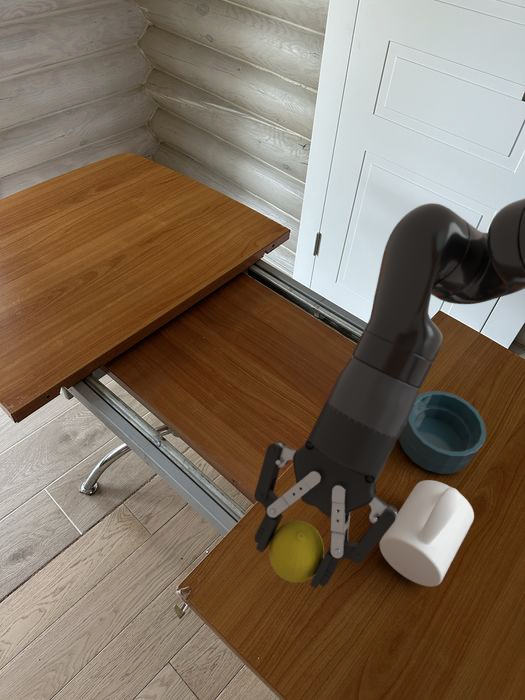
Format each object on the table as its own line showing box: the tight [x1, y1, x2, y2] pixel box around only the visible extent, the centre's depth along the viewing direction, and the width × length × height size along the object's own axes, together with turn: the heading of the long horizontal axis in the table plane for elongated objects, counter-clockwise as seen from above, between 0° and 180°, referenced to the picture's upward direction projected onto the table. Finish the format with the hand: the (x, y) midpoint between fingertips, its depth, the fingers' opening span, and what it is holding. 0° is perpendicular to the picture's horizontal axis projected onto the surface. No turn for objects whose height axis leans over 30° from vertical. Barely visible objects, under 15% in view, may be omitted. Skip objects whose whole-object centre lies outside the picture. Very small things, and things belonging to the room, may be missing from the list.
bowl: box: [398, 390, 487, 475], centre depth 78 cm, size 11×12×6 cm
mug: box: [379, 479, 475, 588], centre depth 65 cm, size 8×10×12 cm
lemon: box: [268, 519, 325, 584], centre depth 52 cm, size 6×6×8 cm
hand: (288, 565), depth 51 cm, fingers closed on lemon, 5 cm apart
